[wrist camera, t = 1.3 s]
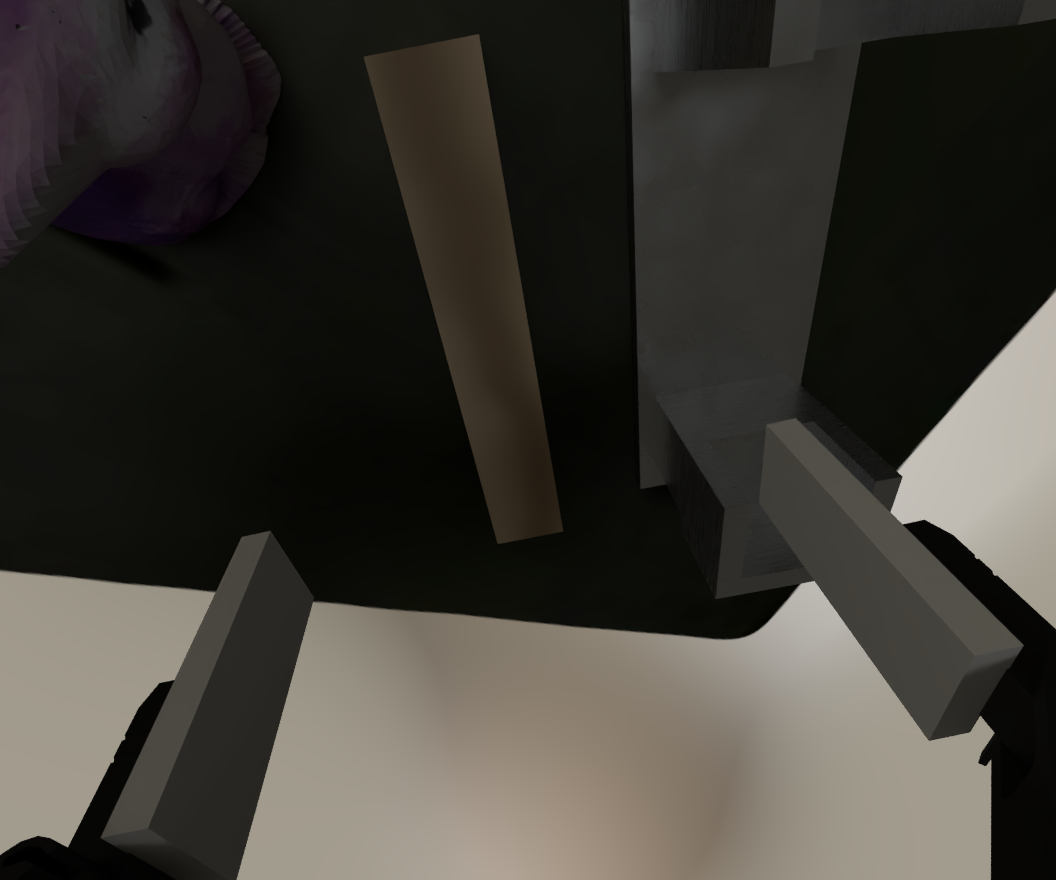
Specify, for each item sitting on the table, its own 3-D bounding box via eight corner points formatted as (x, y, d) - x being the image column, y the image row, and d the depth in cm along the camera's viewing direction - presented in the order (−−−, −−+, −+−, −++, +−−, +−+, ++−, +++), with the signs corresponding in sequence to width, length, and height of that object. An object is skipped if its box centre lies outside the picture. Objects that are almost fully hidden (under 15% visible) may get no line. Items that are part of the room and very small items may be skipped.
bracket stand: (636, 479, 36) (695, 612, 27) (618, -157, 19) (762, -369, 10) (779, 453, 36) (885, 577, 27) (888, -202, 19) (1271, -452, 10)
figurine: (286, -33, 20) (12, -215, 8) (296, 242, 25) (145, 395, 13) (-7, -111, 18) (-993, -517, 6) (72, 205, 24) (-350, 341, 11)
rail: (493, 490, 36) (497, 544, 32) (381, 61, 22) (363, 57, 18) (551, 479, 36) (563, 531, 32) (475, 42, 22) (478, 34, 18)
